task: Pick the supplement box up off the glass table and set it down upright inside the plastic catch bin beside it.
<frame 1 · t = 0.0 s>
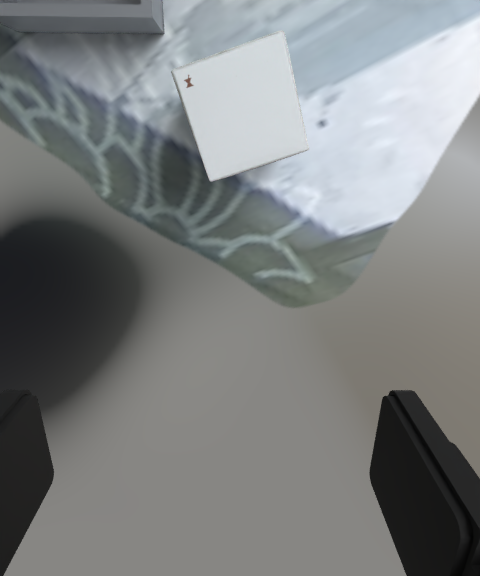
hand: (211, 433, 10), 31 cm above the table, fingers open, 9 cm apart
supplement box: (240, 118, 36), on the table
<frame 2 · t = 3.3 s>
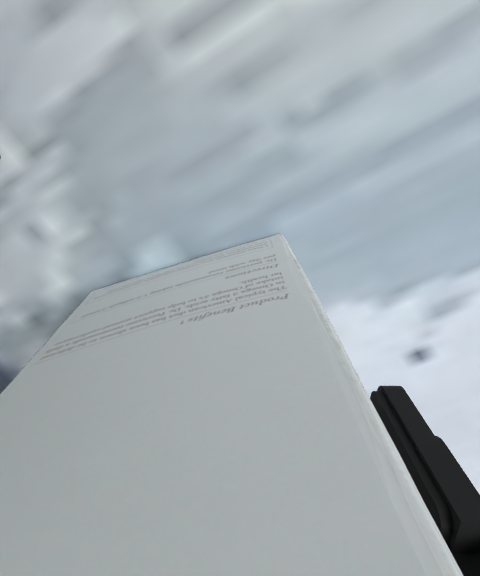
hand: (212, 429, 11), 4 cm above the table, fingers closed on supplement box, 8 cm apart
supplement box: (219, 344, 15), on the table, touching gripper
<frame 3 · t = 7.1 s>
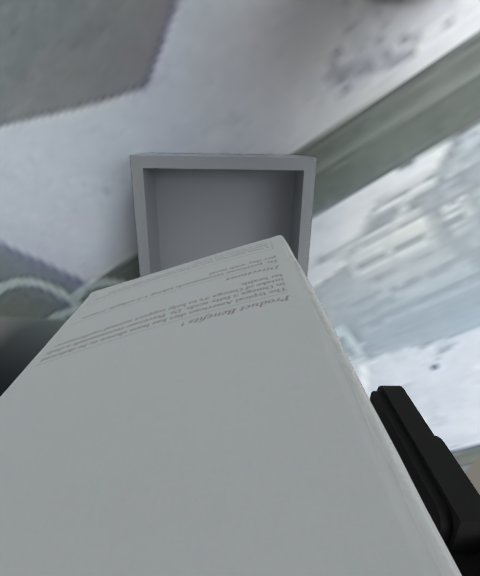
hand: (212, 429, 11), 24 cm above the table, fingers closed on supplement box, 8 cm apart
supplement box: (219, 345, 15), point 19 cm above the table, touching gripper
catch bin: (225, 231, 33), on the table
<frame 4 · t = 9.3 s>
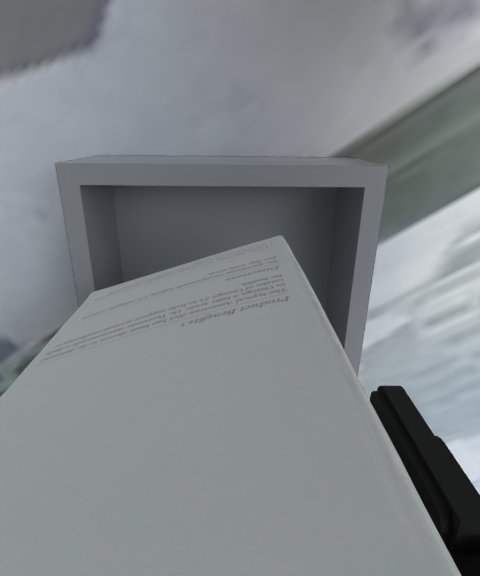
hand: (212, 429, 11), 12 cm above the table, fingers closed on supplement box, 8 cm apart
supplement box: (219, 345, 15), point 7 cm above the table, touching gripper
catch bin: (226, 275, 22), on the table
when the fingers open (7 cm above the table, at t = 11.0 s): supplement box drops 2 cm, resting on catch bin.
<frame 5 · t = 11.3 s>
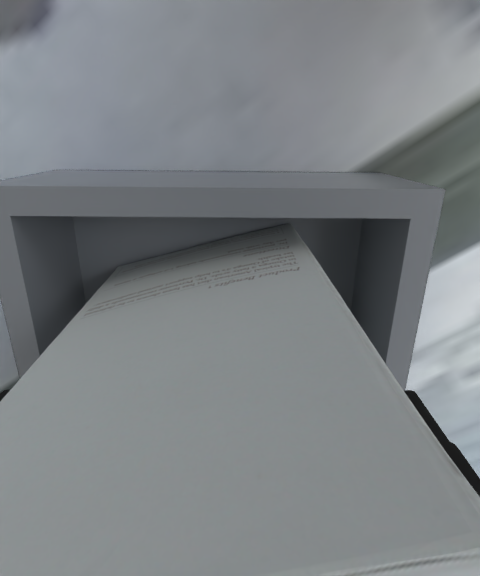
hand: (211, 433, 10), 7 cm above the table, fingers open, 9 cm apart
supplement box: (228, 321, 16), point 1 cm above the table, touching catch bin, gripper
catch bin: (220, 317, 17), on the table
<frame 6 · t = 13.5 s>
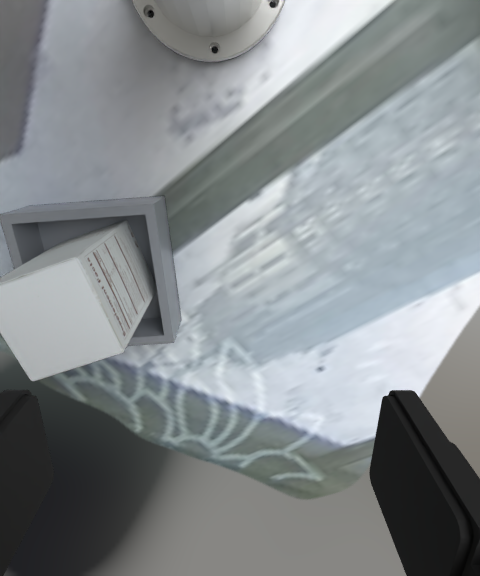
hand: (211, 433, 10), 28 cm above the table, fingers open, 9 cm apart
supplement box: (110, 265, 37), point 1 cm above the table, touching catch bin
catch bin: (109, 265, 38), on the table
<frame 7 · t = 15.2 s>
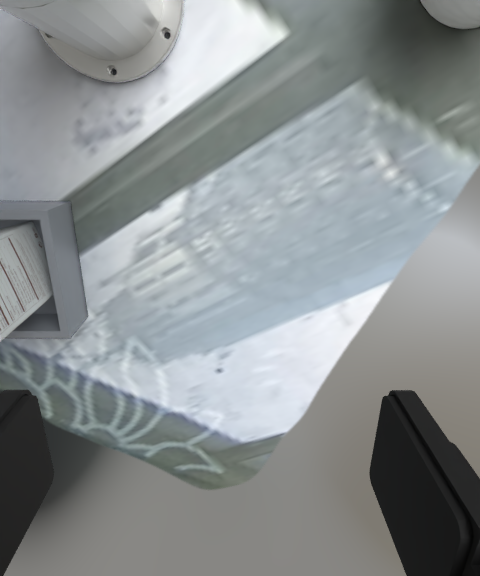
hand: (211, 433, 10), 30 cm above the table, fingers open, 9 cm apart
supplement box: (18, 262, 39), point 1 cm above the table, touching catch bin
catch bin: (19, 261, 40), on the table
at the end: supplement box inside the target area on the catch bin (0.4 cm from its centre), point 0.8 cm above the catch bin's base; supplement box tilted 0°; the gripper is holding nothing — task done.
